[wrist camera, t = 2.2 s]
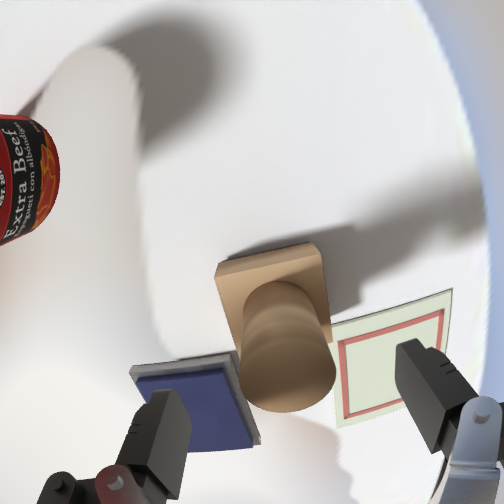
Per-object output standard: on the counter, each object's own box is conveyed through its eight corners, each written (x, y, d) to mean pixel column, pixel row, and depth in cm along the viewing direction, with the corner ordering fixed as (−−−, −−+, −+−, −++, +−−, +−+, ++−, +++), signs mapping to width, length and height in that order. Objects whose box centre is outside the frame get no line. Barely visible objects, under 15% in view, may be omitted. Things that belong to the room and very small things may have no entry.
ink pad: (132, 365, 19) (125, 378, 17) (229, 353, 18) (228, 366, 17) (179, 443, 21) (176, 455, 20) (260, 436, 21) (261, 450, 19)
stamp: (219, 259, 16) (196, 336, 9) (310, 239, 16) (354, 303, 9) (241, 336, 18) (236, 433, 11) (323, 318, 17) (359, 408, 10)
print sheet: (324, 326, 18) (326, 330, 17) (449, 289, 17) (452, 292, 17) (336, 425, 20) (337, 429, 20) (435, 392, 20) (437, 395, 19)
